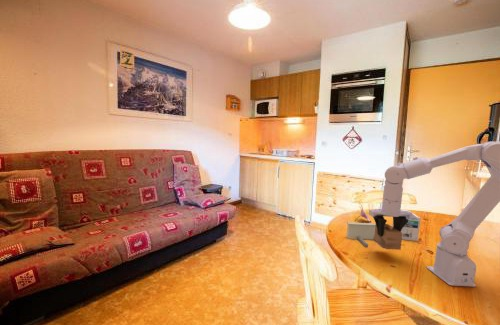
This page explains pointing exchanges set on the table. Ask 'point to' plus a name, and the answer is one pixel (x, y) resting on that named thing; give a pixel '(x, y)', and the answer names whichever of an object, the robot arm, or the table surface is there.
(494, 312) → the table surface
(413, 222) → the light bulb box
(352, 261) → the table surface
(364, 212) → the lily
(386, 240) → the cabinet block
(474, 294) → the table surface
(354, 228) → the wall board
